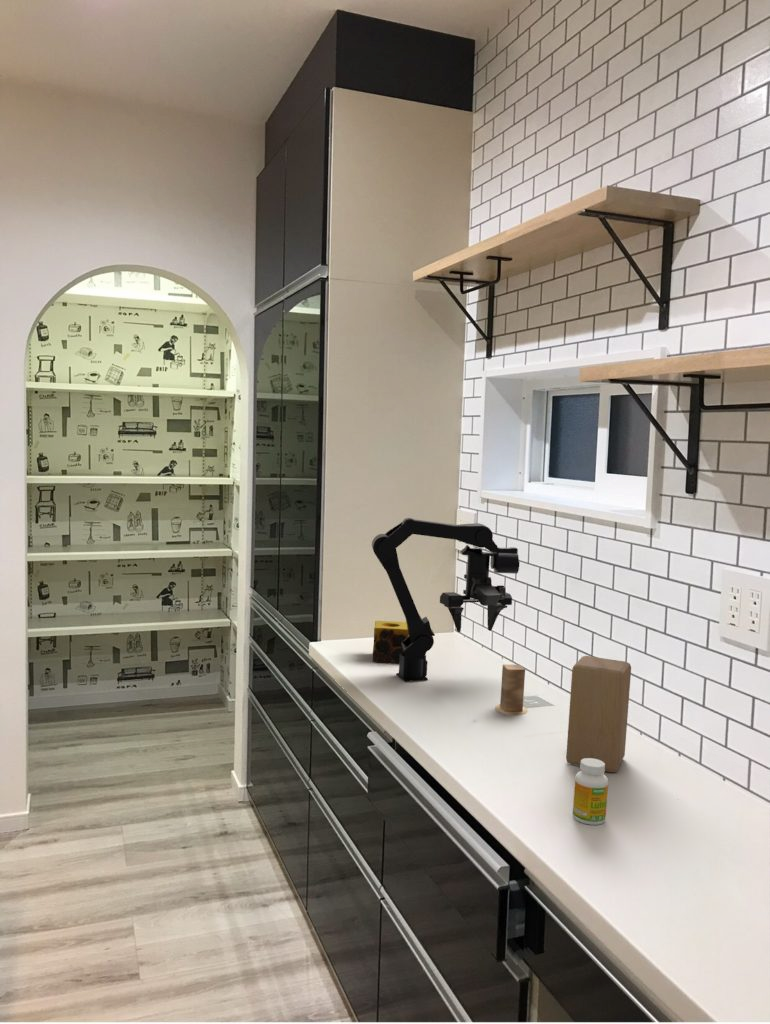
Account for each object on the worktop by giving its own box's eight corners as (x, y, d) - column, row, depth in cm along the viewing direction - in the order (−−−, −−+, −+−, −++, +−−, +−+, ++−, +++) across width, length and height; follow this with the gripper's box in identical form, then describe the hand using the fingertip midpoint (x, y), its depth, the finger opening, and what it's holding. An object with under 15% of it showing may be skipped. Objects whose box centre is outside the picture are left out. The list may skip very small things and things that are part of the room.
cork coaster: (505, 717, 190) (505, 715, 190) (489, 706, 197) (489, 705, 197) (533, 714, 193) (534, 712, 193) (516, 704, 200) (516, 702, 200)
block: (625, 758, 168) (632, 661, 167) (616, 775, 159) (624, 673, 158) (575, 748, 173) (582, 653, 171) (564, 764, 164) (571, 664, 162)
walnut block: (504, 711, 193) (507, 669, 192) (500, 705, 197) (502, 664, 196) (522, 711, 194) (525, 669, 193) (517, 706, 198) (520, 664, 197)
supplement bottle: (590, 828, 136) (594, 771, 136) (565, 815, 141) (569, 759, 140) (612, 821, 140) (616, 764, 139) (586, 808, 144) (590, 754, 143)
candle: (408, 665, 231) (410, 629, 231) (372, 663, 232) (373, 627, 231) (408, 655, 242) (409, 621, 241) (373, 653, 242) (374, 620, 241)
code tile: (525, 709, 197) (525, 707, 197) (508, 699, 204) (508, 697, 204) (554, 706, 200) (554, 705, 200) (536, 696, 207) (536, 695, 207)
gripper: (460, 578, 206) (457, 640, 207) (525, 576, 213) (521, 636, 215) (440, 570, 216) (437, 630, 218) (502, 569, 224) (499, 627, 225)
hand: (474, 631), depth 218 cm, fingers open, 9 cm apart
